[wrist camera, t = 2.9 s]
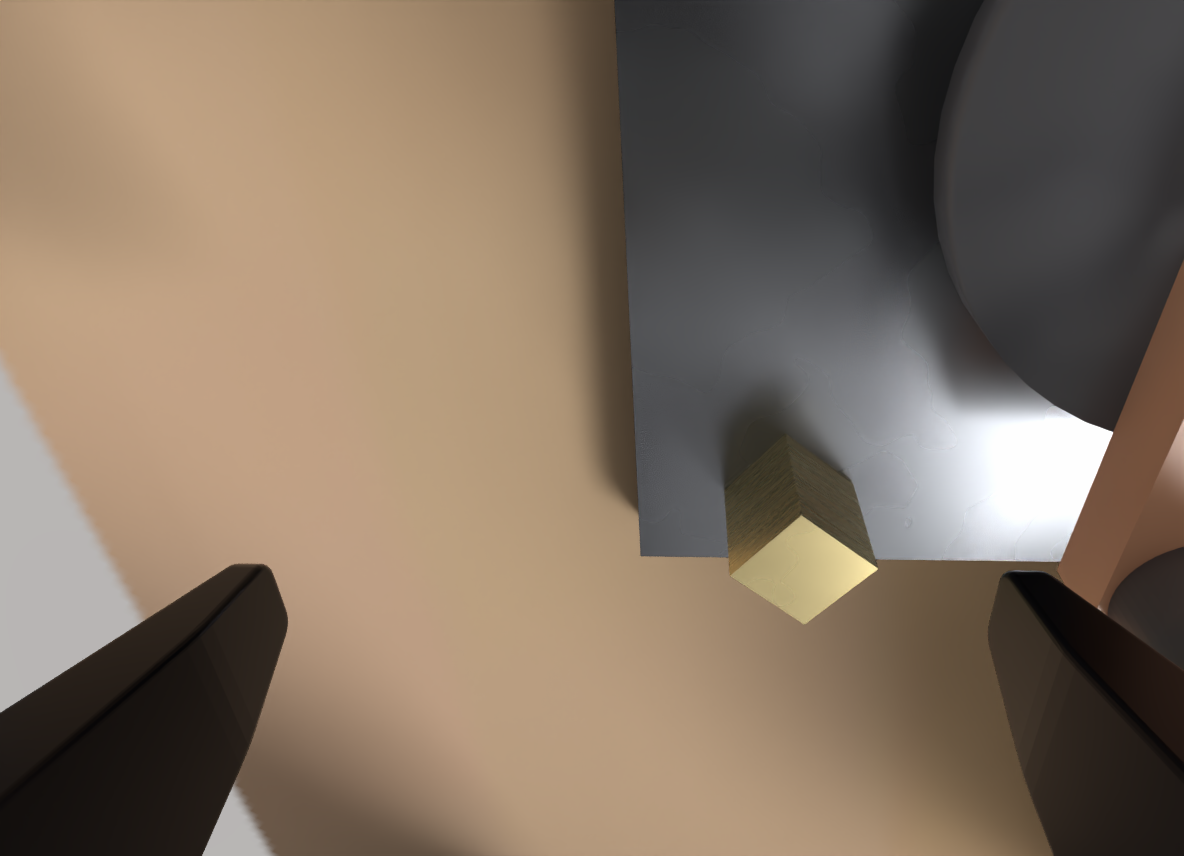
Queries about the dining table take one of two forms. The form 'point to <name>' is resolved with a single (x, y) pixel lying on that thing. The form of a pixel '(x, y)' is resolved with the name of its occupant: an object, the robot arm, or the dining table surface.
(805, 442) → the hub plate
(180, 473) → the dining table surface
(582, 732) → the dining table surface
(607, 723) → the dining table surface
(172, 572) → the dining table surface
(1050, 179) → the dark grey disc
